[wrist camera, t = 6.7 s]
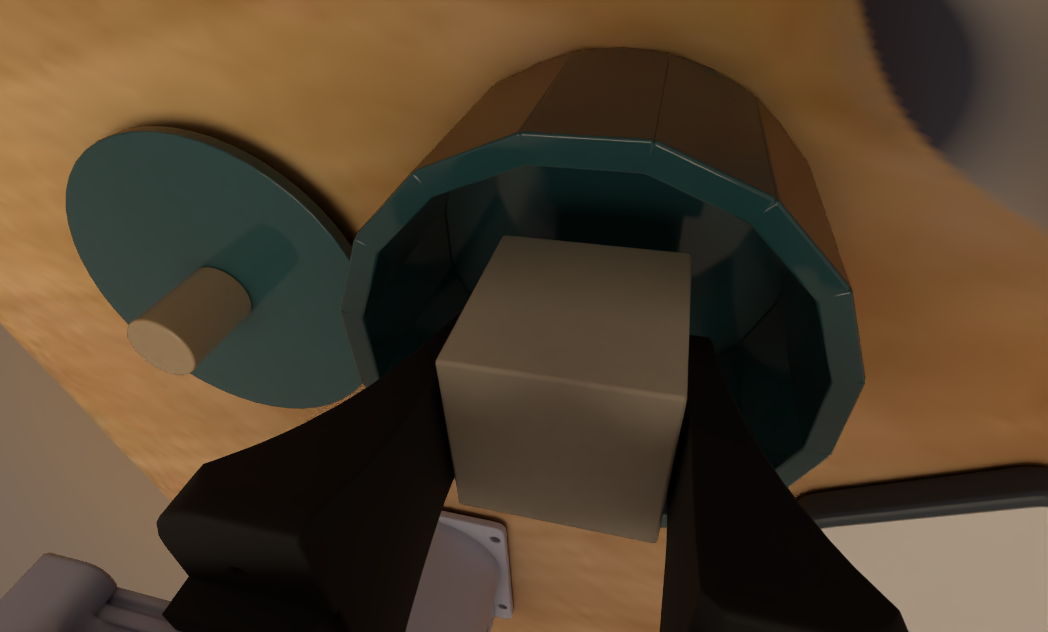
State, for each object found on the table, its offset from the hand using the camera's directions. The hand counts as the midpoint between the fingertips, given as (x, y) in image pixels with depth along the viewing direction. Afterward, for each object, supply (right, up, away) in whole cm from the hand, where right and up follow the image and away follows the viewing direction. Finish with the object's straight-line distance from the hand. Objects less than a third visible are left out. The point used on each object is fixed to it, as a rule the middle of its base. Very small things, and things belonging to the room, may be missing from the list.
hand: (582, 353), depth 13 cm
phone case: (+16, -11, +10) cm, 22 cm away
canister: (+1, +3, +4) cm, 5 cm away
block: (0, +1, +1) cm, 1 cm away
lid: (-12, +2, +8) cm, 15 cm away
